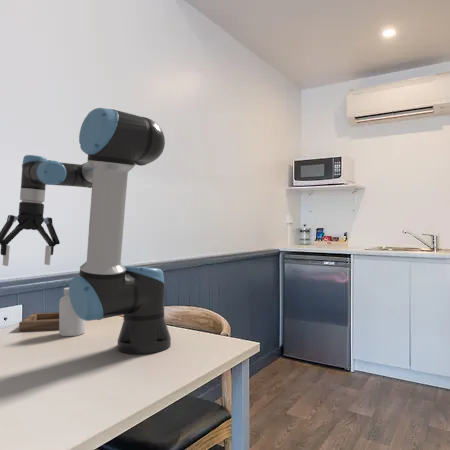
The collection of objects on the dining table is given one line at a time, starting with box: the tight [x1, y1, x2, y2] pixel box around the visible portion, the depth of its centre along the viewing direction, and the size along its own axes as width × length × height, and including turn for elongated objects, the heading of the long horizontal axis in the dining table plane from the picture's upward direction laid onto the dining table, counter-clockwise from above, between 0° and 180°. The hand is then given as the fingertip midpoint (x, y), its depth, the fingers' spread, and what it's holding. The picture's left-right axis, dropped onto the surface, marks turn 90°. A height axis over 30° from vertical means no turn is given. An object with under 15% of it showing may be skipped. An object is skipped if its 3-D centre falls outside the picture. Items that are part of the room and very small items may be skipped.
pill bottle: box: [58, 286, 86, 337], centre depth 132 cm, size 8×8×15 cm
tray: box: [18, 311, 59, 333], centre depth 145 cm, size 15×15×3 cm
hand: (26, 265), depth 136 cm, fingers open, 13 cm apart
